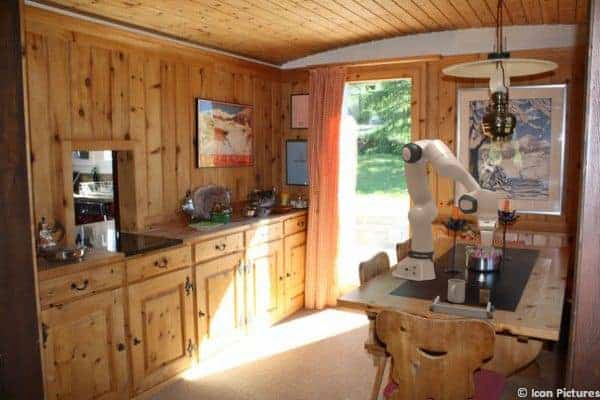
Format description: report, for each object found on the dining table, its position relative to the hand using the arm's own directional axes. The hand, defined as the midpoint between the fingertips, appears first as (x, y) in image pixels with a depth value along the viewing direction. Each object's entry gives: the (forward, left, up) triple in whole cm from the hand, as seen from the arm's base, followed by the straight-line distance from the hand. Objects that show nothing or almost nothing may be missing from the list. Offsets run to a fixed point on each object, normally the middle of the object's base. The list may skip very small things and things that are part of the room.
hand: (487, 253), depth 223 cm
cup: (-12, -9, -21) cm, 26 cm away
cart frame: (-8, -20, -21) cm, 30 cm away
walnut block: (0, -4, -21) cm, 21 cm away
